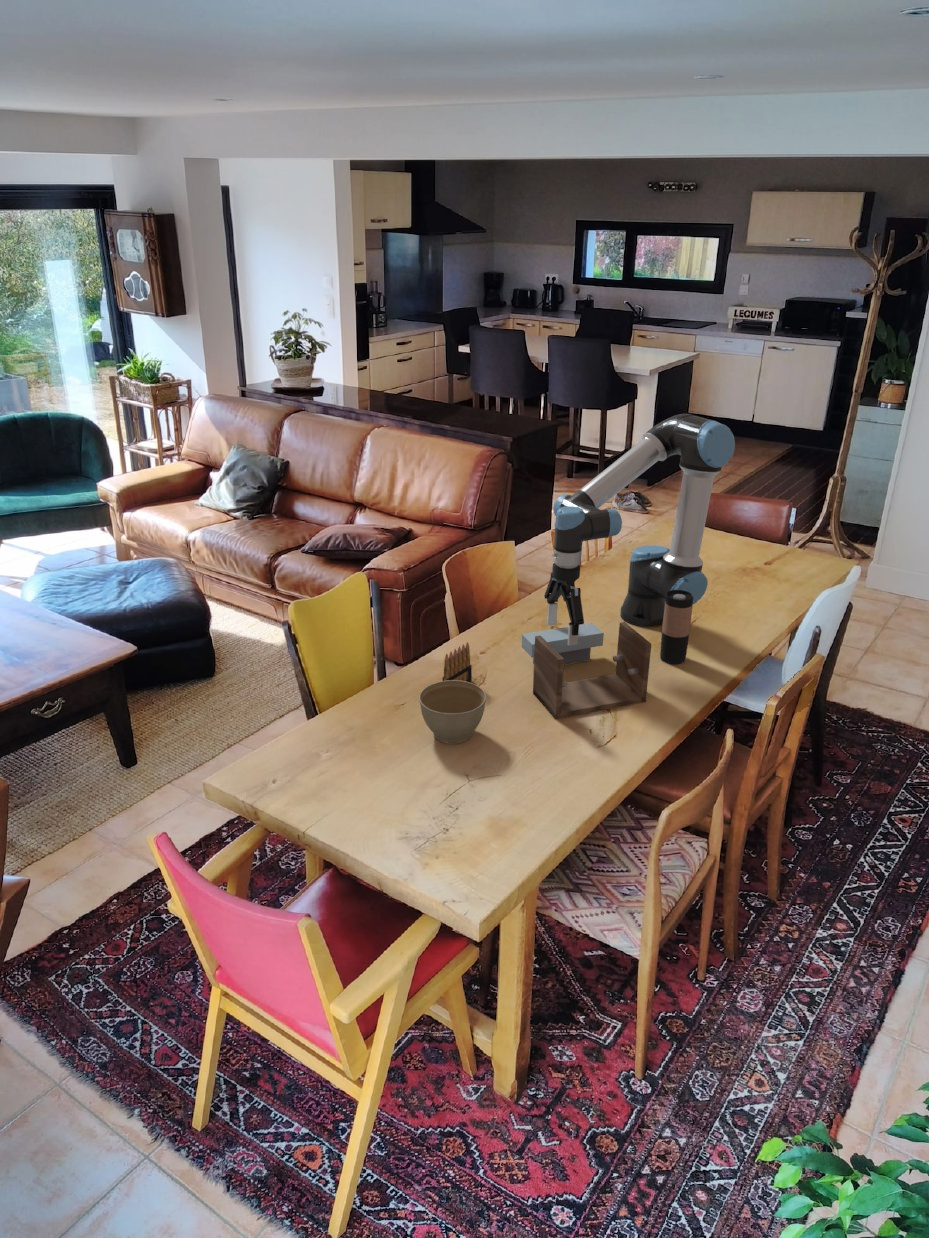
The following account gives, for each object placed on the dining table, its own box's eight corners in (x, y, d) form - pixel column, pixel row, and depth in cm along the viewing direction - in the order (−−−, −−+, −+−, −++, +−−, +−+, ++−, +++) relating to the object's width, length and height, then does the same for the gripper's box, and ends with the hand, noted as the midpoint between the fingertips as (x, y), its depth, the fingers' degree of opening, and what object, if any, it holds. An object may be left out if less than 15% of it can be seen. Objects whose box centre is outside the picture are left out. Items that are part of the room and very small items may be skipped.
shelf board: (591, 635, 264) (592, 622, 263) (602, 645, 258) (603, 632, 257) (521, 646, 258) (522, 634, 256) (531, 657, 252) (532, 644, 250)
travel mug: (654, 659, 262) (660, 595, 254) (668, 650, 267) (675, 587, 259) (677, 667, 257) (684, 602, 249) (691, 658, 262) (699, 594, 254)
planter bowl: (410, 725, 229) (409, 687, 224) (469, 712, 235) (469, 675, 230) (434, 758, 215) (433, 718, 211) (496, 743, 221) (496, 704, 217)
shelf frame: (619, 677, 252) (624, 621, 245) (645, 701, 240) (651, 643, 233) (532, 693, 244) (535, 636, 236) (555, 719, 232) (558, 659, 224)
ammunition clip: (466, 679, 251) (466, 639, 246) (472, 681, 250) (472, 641, 245) (442, 694, 243) (441, 654, 238) (447, 696, 242) (447, 656, 237)
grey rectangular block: (583, 654, 264) (584, 639, 262) (589, 660, 261) (590, 644, 259) (532, 663, 259) (533, 647, 257) (538, 669, 256) (539, 653, 254)
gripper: (535, 550, 257) (531, 618, 266) (574, 581, 236) (569, 655, 244) (559, 547, 259) (555, 615, 268) (600, 578, 238) (594, 651, 247)
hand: (561, 634), depth 256 cm, fingers open, 13 cm apart
